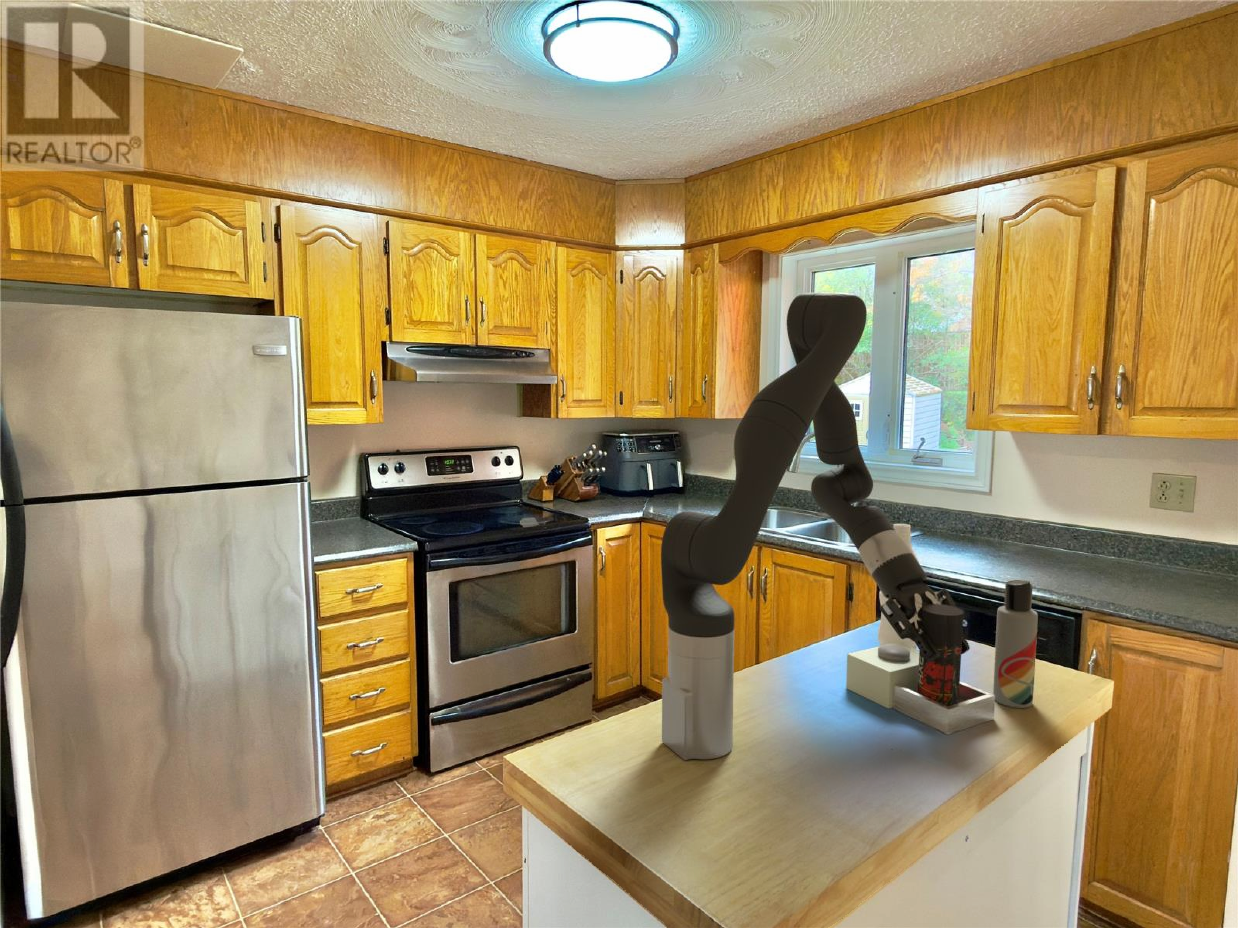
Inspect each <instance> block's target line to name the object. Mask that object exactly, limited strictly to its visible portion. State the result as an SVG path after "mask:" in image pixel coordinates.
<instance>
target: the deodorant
mask: <svg viewBox="0 0 1238 928" xmlns="http://www.w3.org/2000/svg"><path fill="white" fill-rule="evenodd" d="M964 613H965V612H964V611H963V609H961V608H959V607H957V608H956V607H953V606H949V605H942V604H927V605H923V606H922V616H923V624H924V629H925V634H928V636H929V637H930V639H931V640H932V642H933V644H934V645H935V647H936V648H937V650H938V652H939V653H940V657H939V658H938V659H936V660H935V661H933V662H928V661H927V659H926V658H925V657H924V656H923V655H922V653H921V652H920V650H919V670H918V689H917V693H918V694H921V695H923V696H925V697H927V698H930V699H932V700H934V701H936V702H939V703H941V704H943V705H946V706H951V705H954V704H957V703H958V702H959V684H960V682H961V680H960V679H961V666H962V665H961V664H962V663H961V661H962V654H961V649H962V635H963V629H964V620H963V619H964ZM925 634H924V635H925Z"/></svg>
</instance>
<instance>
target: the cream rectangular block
mask: <svg viewBox="0 0 1238 928" xmlns="http://www.w3.org/2000/svg"><path fill="white" fill-rule="evenodd" d="M846 657H847V658H846V679H845V680H846V683H845V684H846V687H845V689H847V690H849V691H851V692H854V693H856V694H858V695H859V696H862V697H864V698H865V699H868V700H870V701H872V702H874V703H876V704H878V705H880V706H883V707H884V708H886V709H893V708H892V688H893V684H898V685H900V686H902V687H905V688H907V689H909V690H911V691H914V692H916V693H917V689H918V670H919V650H918V649H917V648H916V649H914V648H911V647H908V646H906V645H903V644H900V643H898V642H896V643H892V644H888V645H883V646H880V645H879V646H876V647H871V648H867V649H866V648H865V649H862V650H858V651H854V652H850V653H846Z"/></svg>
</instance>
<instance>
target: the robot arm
mask: <svg viewBox="0 0 1238 928" xmlns="http://www.w3.org/2000/svg"><path fill="white" fill-rule="evenodd" d="M867 312H868V311H867V306H866V303H865V301H864V300H863V299H862V298H861V297H860V296H858V295H856V294H854V293H847V292H804V293H800V294H799V295H796V296H795V297H794V298H793V299H792V301H791V303H790V305H789V307H788V309H787V314H786V315H787V316H786V331H787V338H788V342H789V345H790V348H791V352H792V355H793V358H794V361H795V366H794V367H792V368H790V369H788V371H786V372H784V373H782V374H781V375H779V377H777V378H775V379H774V380H772V381H771V382H769V383H768V384H767V385H766V386H765V387H764V388H762V389H761V390H760V391H759V392H758V393H757V394H756V395H755V397H753V399H752V401H751V403H750V404H749V406H748V408H747V409H746V411H745V413H744V414H743V417H742V418H741V420H740V422H739V424H738V426H737V428H736V431H735V434H734V439H733V440H734V441H733V453H734V464H735V465H734V466H735V479H734V483H733V486H732V489H731V491H730V493H729V496H728V497H727V499H726V501H725V503H724V505H723V506H722V507H721V510H720V511H719V512H718V514H717V515H714V514H710V513H704V512H698V511H691V510H690V511H687V510H686V511H681V512H678V513H677V514H675V515H673V517H671V519H670V520H668V522H667V524H666V526H665V529H664V532H663V534H662V539H661V545H660V548H661V549H660V569H661V570H660V571H661V587H662V588H661V589H662V591H661V592H662V604H663V607H664V609H665V611H666V614H667V619H668V620H667V621H668V622H667V623H668V624H667V625H668V631H667V632H668V633H667V634H668V638H667V639H668V640H667V644H668V646H667V649H668V650H667V653H668V655H667V677H663V678H662V681H661V687H662V688H661V692H662V693H661V742H662V743H663V744H664V745H666V746H667V747H668V748H669V749H670V750H671V751H673V752H674V753H675V754H676V755H678V756H679V757H680V758H681V759H682V760H684V761H688V760H693V759H694V760H712V759H718V758H721V757H724V756H726V755H727V754H728V753H730V752H731V751H732V749H733V745H734V744H733V743H734V741H733V740H734V734H733V733H734V677H735V676H734V675H735V673H734V670H735V669H734V668H735V667H734V665H735V663H734V662H735V661H734V660H735V659H734V658H735V657H734V656H735V621H736V620H735V611H734V608H733V607H732V605H730V604H729V603H728V601H727V600H725V599H724V598H723V597H722V596H721V595H720V594H719V593H718V591H717V590H716V588H715V586H714V585H716V586H725V585H728V584H730V583H731V582H733V581H734V580H735V579H737V577H738V576H739V575H740V573H741V572H742V570H743V569H744V567H745V566H746V564H747V562H748V560H749V557H750V555H751V553H752V551H753V548H754V545H755V543H756V540H757V538H758V535H759V533H760V531H761V527H762V526H763V523H764V520H765V517H766V515H767V513H768V509H769V507H770V505H771V503H772V501H773V498H774V496H775V494H776V492H777V490H778V488H779V487H780V484H781V482H782V480H783V478H784V476H785V473H786V472H787V470H788V468H789V466H790V464H791V462H792V460H793V458H795V455H796V454H797V452H798V450H799V448H800V446H801V444H802V442H803V440H804V439H805V436H806V434H807V432H808V430H809V428H810V426H811V424H813V425H812V427H813V434H814V440H815V446H816V447H815V449H816V454H817V457H818V459H819V460H820V461H821V462H822V463H824V464H826V465H829V466H838V467H835V468H833V469H829V470H826V471H824V472H822V473H821V472H820V473H819V474H817V475H816V476H814V478H813V479H812V480H811V483H810V491H811V495H812V498H813V499H814V500H813V501H815V503H816V504H817V506H819V508H820V509H821V510H822V511H823V512H824V513H825V514H826V515H828V516H829V517H830V518H831V519H833V520H834V522H835V523H836V524H837V525H838V526H839V527H841V528H842V530H843V531H844V532H846V534H847V536H848V538H850V540H851V542H852V544H853V545H854V547H855V548H856V550H857V552H858V554H859V555H860V557H861V560H862V562H863V564H864V566H865V567H866V569H867V571H868V572H869V574H870V575H871V577H872V579H873V581H874V582H875V583H876V585H877V587H878V588H879V591H880V590H881V592H882V593H883V595H884V597H885V598H887V599H888V600H887V601H886V602H885V603H884V604H883V605H881V604H880V606H879V610H880V612H882V613H883V615H884V616H885V617H886V619H887V620H888V622H889V623H890V624H891V626H892V627H893V629H894V630H895V631H896V633H897V634H898V636H899V637H900V638H901V639H905V638H909V639H910V640H912V641H914V642H915V643H916V645H917V648H918V649H919V650H920V652H921V653H922V655H923V656H924V657H925V658H926V659H927V661H928V662H933V661H935V660H936V659H938V658H939V657H940V653H939V652H938V650H937V648H936V647H935V645H934V644H933V642H932V640H931V639H930V637H929V636H928V634H925V629H924V624H923V616H922V606H923V605H927V604H942V605H949V606H953V607H956V608H958V606H957V604H956V603H955V601H954V600H953V597H952V596H951V594H950V593H949V591H948V589H946V588H942V589H940V590H939V591H934V590H933V589H931V588H930V587H929V586H928V584H927V578H928V575H927V573H926V571H925V570H924V568H923V567H922V566H921V564H919V563H920V562H919V563H918V561H919V560H918V561H917V560H916V558H915V557H914V555H913V554H912V552H911V551H910V549H909V548H908V546H907V545H906V543H905V542H904V540H903V539H902V538H901V537H900V536H899V535H898V534H897V532H896V531H895V529H894V527H893V526H894V525H892V523H891V522H890V521H889V519H888V518H887V516H886V514H885V513H884V511H883V510H882V509H881V508H880V507H878V506H876V505H865V506H854V504H856V503H859V502H862V501H864V500H866V499H867V498H869V497H870V496H871V494H872V492H873V488H874V479H873V478H872V475H871V473H870V471H869V469H868V467H867V465H866V462H865V460H864V458H863V454H862V452H861V450H860V445H859V439H858V436H859V435H858V429H857V428H858V427H857V420H856V415H855V412H854V409H853V406H852V405H851V403H850V401H849V399H848V398H847V396H846V395H845V393H844V392H843V391H842V389H841V388H840V386H839V385H838V384H837V382H836V381H835V380H836V378H837V377H838V375H840V372H842V370H843V368H844V367H845V366H846V364H847V362H848V361H849V359H850V357H852V354H853V353H854V351H855V350H856V348H857V347H858V345H859V343H860V340H861V339H862V336H863V333H864V331H865V327H866V324H867V318H868V317H867ZM963 621H964V618H963ZM899 622H901V623H902V624H903V626H904V627H905V628H904V629H902V627H901V626H900V624H899ZM924 634H925V635H924ZM970 648H971V647H970V645H969V642H968V641H967V639H966V638H965V636H964V634H962V649H961V655H963V654H965V653H967V652H968V651H970Z"/></svg>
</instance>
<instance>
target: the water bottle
mask: <svg viewBox="0 0 1238 928" xmlns="http://www.w3.org/2000/svg"><path fill="white" fill-rule="evenodd" d="M892 526H893V528H894V529H895V531H896V532H897V534H898V535H899V536H900V537H901V538H902V539H903V540H904V542H905V543H906V545H907V546H908V548H909V549H910V551H911V552H912V554H913V555H914V557H915V558H916V560H917V561H918V563H919V564H920V561H919V559H918V557H917V554H916V553H915V550H914V549H913V547H912V544H911V539H912V538H913V537H912V533H911V530H912V529H911V525H910V524H907V523H894V524H893V525H892ZM920 565H921V564H920ZM878 595H879V597H878V598H879V603H880V606H881V605H883V604H884V603H885V602H886V601H887V600H888V599H887V598H885V597H884V595H883V593H882V592H881V590H880V589H879V593H878ZM880 612H881V611H880ZM880 615H881V616H880V623H879V628H878V630H877V641H878V643H879V646H883V645H888V644H892V643H896V642H898V643H900V644H903V645H906V646H908V647H911V648H914V649H916V650H917V648H918V647H917V645H916V643H915V642H914V641H912V640H910V639H909V638H905V639H901V638H900V637H899V636H898V634H897V633H896V631H895V630H894V629H893V627H892V626H891V624H890V623H889V622H888V620H887V619H886V617H885V616H884V615H883V613H882V612H881V613H880ZM899 624H900V626H901V627H902V629H904V628H905V627H904V626H903V624H902V623H901V622H899Z"/></svg>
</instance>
